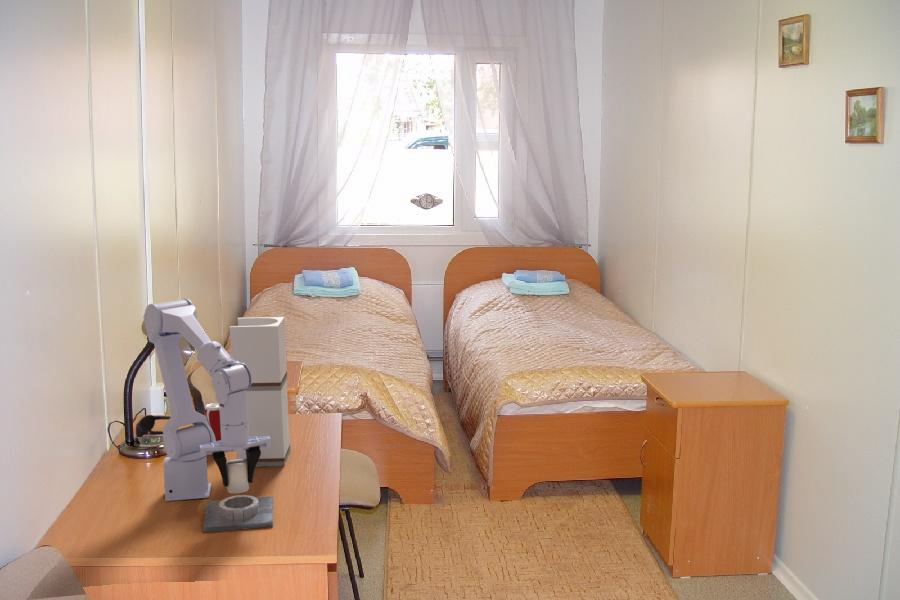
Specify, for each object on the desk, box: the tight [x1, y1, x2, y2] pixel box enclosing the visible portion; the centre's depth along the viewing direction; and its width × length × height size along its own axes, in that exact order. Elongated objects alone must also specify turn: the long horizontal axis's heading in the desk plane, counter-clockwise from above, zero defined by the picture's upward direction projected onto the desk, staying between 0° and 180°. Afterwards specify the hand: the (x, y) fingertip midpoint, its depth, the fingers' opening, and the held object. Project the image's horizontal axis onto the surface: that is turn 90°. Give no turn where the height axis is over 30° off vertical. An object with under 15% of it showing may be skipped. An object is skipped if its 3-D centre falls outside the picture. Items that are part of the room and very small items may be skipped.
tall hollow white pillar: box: [229, 316, 292, 468], centre depth 230 cm, size 11×11×35 cm
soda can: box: [203, 402, 221, 442], centre depth 239 cm, size 5×5×12 cm
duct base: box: [202, 494, 274, 534], centre depth 199 cm, size 14×14×3 cm
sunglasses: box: [135, 414, 171, 438], centre depth 250 cm, size 14×16×5 cm
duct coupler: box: [226, 458, 250, 494], centre depth 198 cm, size 4×4×6 cm
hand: (237, 483), depth 198 cm, fingers closed on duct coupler, 4 cm apart
